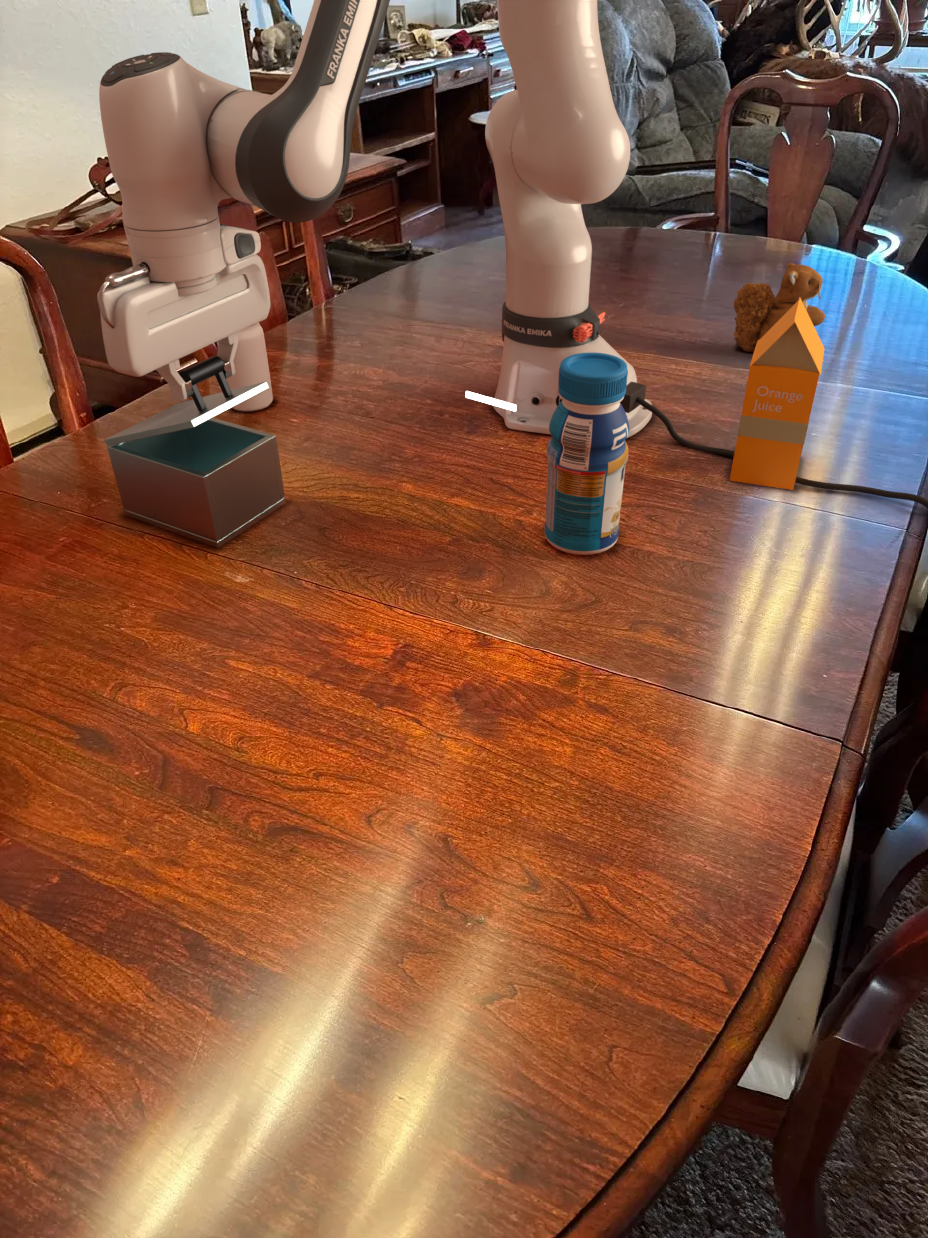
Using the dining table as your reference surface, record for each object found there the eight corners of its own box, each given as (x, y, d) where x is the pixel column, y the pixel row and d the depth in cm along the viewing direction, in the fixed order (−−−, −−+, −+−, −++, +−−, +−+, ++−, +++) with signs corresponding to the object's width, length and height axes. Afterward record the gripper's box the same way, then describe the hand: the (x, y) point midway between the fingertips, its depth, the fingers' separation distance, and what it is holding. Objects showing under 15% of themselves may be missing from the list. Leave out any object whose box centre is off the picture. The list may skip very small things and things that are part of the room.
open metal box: (286, 503, 109) (276, 434, 104) (218, 548, 101) (203, 477, 96) (195, 474, 116) (182, 408, 110) (125, 515, 108) (106, 446, 102)
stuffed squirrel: (814, 365, 142) (834, 278, 134) (721, 355, 146) (734, 269, 138) (818, 344, 149) (836, 259, 141) (729, 334, 153) (742, 252, 145)
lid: (269, 388, 101) (249, 341, 99) (193, 427, 93) (170, 378, 91) (182, 408, 110) (163, 366, 108) (107, 446, 102) (84, 401, 100)
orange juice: (728, 480, 112) (757, 317, 101) (737, 449, 119) (765, 293, 107) (794, 490, 110) (832, 324, 98) (800, 458, 117) (836, 299, 105)
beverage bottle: (529, 527, 104) (535, 355, 92) (595, 512, 107) (609, 342, 95) (565, 565, 98) (576, 385, 86) (633, 547, 100) (654, 371, 89)
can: (263, 414, 130) (250, 330, 123) (220, 410, 131) (205, 327, 124) (280, 396, 135) (268, 314, 128) (238, 393, 136) (225, 311, 129)
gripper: (118, 285, 81) (154, 430, 89) (270, 230, 95) (288, 360, 103) (69, 275, 83) (108, 417, 92) (224, 223, 97) (246, 350, 106)
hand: (205, 386), depth 98 cm, fingers closed on lid, 5 cm apart
